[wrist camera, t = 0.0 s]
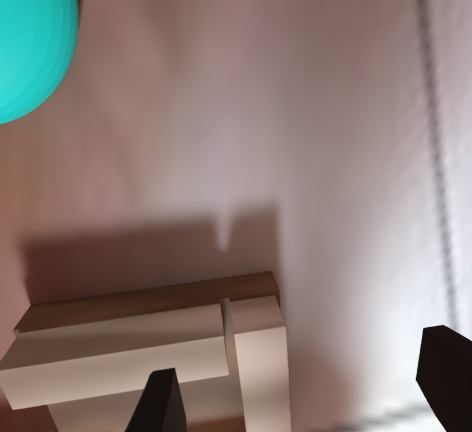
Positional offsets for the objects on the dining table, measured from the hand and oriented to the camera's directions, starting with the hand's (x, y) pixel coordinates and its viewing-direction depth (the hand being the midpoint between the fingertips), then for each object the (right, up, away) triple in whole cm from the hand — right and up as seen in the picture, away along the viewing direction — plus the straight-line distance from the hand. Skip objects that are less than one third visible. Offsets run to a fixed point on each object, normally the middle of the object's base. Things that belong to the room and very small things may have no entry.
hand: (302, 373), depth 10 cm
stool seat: (-6, -6, +13) cm, 15 cm away
